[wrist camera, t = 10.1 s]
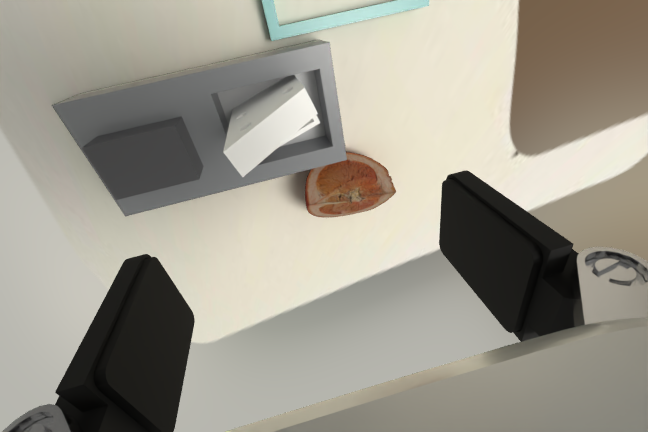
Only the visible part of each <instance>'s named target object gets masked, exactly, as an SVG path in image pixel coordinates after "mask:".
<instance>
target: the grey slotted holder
mask: <svg viewBox="0 0 648 432" xmlns="http://www.w3.org/2000/svg"><path fill="white" fill-rule="evenodd" d="M291 75H295V77H296V78H297V79H298V80H299V81H300V83H301V84H302V85H303V86H304V88H305V89H306V91H307V93H308V95H309V97H310V99H311V101H312V103H313V105H314V107H315V109H316V111H317V113H318V114H317V115H316V116H317V117H318V119H319V121H320V123H319V124H318V125H316V126H314V127H312V128H311V129H309V130H307V131H306V132H304V133H302V134H300V135H299V136H297V137H295V138H294V139H292V140H290V141H288V142H287V143H285V144H283V145H282V146H280V147H278V148H277V149H276V150H275V151H273V152H272V153H271V154H270V155H269V156H268V157H266V158H265V159H264V160H263V161H262V162H260V163H259V164H258V165H257V166H256V167H255V168H253V169H252V170H251V171H250V172H249V173H248V174H246V175H245V176H244V177H242V176H241V175H240V173H239V172H238V171H237V169H236V168H235V167H234V166H233V164H232V163H231V162H230V160H229V159H228V158H227V156H226V155H225V154H224V153H223V151H224V146H225V141H226V137H227V132H228V128H229V123H230V119H231V114H232V110H233V109H234V108H236V107H237V106H239V105H241V104H242V103H244V102H245V101H247V100H249V99H250V98H252V97H254V96H255V95H257V94H259V93H260V92H262V91H264V90H265V89H267V88H269V87H270V86H272V85H273V84H275V83H277V82H278V81H280V80H282V79H283V78H285V77H287V76H291ZM52 106H53V108H54V109H55V111H56V112H57V114H58V115H59V117H60V119H61V120H62V122H63V123H64V125H65V126H66V128H67V129H68V131H69V132H70V134H71V135H72V137H73V138H74V140H75V141H76V143H77V144H78V146H79V147H80V149H81V150H82V152H83V153H84V155H85V156H86V158H87V159H88V161H89V162H90V164H91V165H92V167H93V168H94V170H95V171H96V173H97V174H98V176H99V177H100V179H101V180H102V182H103V183H104V185H105V186H106V188H107V189H108V191H109V192H110V194H111V195H112V197H113V198H114V200H115V201H116V203H117V204H118V206H119V207H120V209H121V210H122V212H123V213H124V215H125V216H128V215H132V214H136V213H140V212H144V211H148V210H152V209H156V208H160V207H164V206H168V205H172V204H176V203H180V202H183V201H187V200H191V199H195V198H199V197H203V196H207V195H211V194H215V193H219V192H223V191H227V190H231V189H235V188H239V187H242V186H246V185H250V184H254V183H258V182H262V181H266V180H270V179H274V178H278V177H282V176H286V175H290V174H294V173H298V172H301V171H305V170H309V169H313V168H317V167H321V166H325V165H329V164H333V163H337V162H341V161H345V160H347V156H346V150H345V143H344V136H343V129H342V123H341V116H340V109H339V102H338V96H337V89H336V82H335V76H334V69H333V62H332V55H331V49H330V42H326V41H322V40H316V41H311V42H307V43H302V44H298V45H293V46H289V47H285V48H280V49H276V50H271V51H267V52H262V53H258V54H254V55H249V56H245V57H240V58H236V59H231V60H227V61H223V62H218V63H214V64H209V65H205V66H200V67H196V68H192V69H187V70H183V71H178V72H174V73H169V74H165V75H161V76H156V77H152V78H147V79H143V80H138V81H134V82H130V83H125V84H121V85H116V86H112V87H107V88H103V89H99V90H94V91H90V92H85V93H81V94H78V95H76V96H73V97H71V98H68V99H66V100H64V101H61V102H59V103H56V104H54V105H52Z"/></svg>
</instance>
